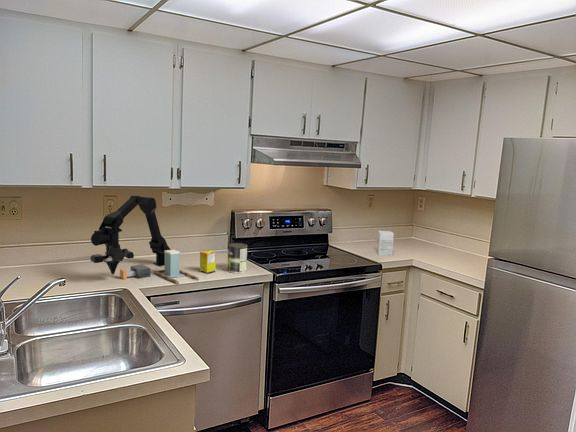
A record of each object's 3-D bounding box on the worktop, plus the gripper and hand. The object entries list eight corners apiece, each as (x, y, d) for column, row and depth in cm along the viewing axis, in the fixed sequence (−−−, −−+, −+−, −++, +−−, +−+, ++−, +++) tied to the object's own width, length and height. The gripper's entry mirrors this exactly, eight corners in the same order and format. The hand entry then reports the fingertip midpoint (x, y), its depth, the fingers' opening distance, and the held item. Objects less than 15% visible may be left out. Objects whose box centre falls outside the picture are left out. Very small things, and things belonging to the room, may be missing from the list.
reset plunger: (120, 277, 226) (119, 269, 226) (133, 275, 231) (133, 267, 231) (123, 279, 223) (123, 271, 223) (137, 277, 228) (137, 269, 228)
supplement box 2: (376, 252, 307) (377, 230, 305) (390, 253, 307) (391, 231, 305) (378, 255, 298) (380, 232, 296) (392, 256, 298) (394, 233, 296)
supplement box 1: (208, 269, 247) (208, 249, 246) (215, 272, 244) (216, 251, 242) (199, 271, 243) (199, 251, 241) (207, 274, 239) (207, 253, 238)
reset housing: (130, 274, 233) (130, 266, 232) (141, 272, 237) (141, 264, 236) (138, 278, 226) (138, 270, 225) (150, 276, 230) (150, 268, 230)
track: (153, 273, 236) (153, 271, 236) (175, 270, 244) (175, 267, 244) (176, 284, 220) (176, 281, 220) (198, 279, 228) (198, 277, 228)
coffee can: (230, 273, 241) (230, 247, 239) (225, 268, 251) (225, 243, 249) (249, 272, 245) (249, 246, 243) (243, 267, 254) (244, 242, 252)
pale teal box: (164, 273, 235) (164, 250, 233) (173, 271, 239) (173, 249, 237) (170, 276, 231) (170, 253, 229) (179, 274, 234) (179, 251, 232)
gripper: (99, 247, 207) (99, 281, 209) (138, 242, 220) (139, 274, 222) (89, 243, 215) (90, 275, 217) (128, 238, 228) (128, 269, 230)
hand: (112, 274), depth 222 cm, fingers closed
